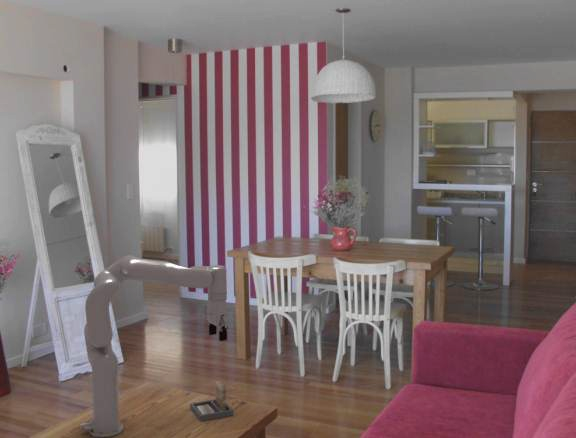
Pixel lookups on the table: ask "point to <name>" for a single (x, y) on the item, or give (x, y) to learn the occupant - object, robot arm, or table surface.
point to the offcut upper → (205, 409)
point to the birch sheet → (221, 395)
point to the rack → (210, 416)
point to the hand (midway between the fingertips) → (217, 337)
